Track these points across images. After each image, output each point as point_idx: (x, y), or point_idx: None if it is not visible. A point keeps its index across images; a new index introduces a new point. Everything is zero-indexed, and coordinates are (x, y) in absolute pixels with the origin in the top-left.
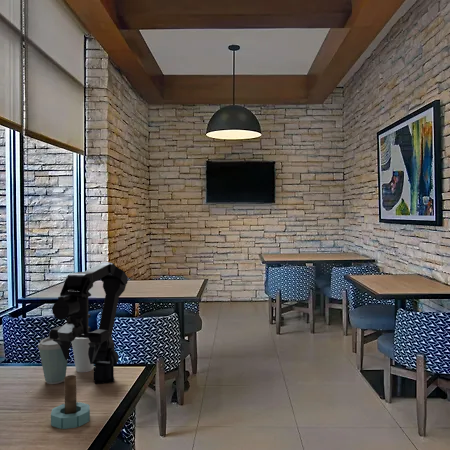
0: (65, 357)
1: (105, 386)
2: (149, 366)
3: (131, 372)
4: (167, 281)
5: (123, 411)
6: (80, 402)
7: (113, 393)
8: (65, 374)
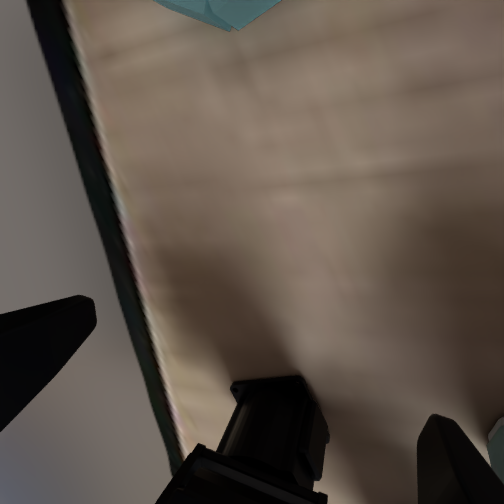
0: (461, 449)
1: (248, 349)
2: None
3: None
4: None
5: (56, 92)
6: (195, 9)
7: (184, 278)
8: (492, 468)
